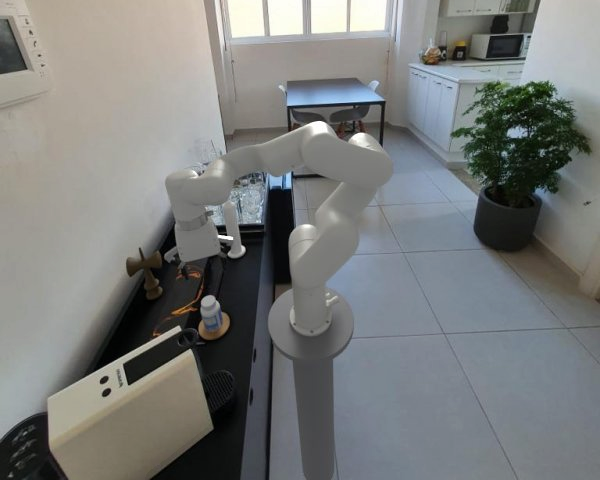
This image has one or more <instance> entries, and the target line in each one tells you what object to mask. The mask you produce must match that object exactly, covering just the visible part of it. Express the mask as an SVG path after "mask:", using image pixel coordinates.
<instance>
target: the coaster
mask: <svg viewBox="0 0 600 480" xmlns="http://www.w3.org/2000/svg"><path fill="white" fill-rule="evenodd" d="M221 313H222V317H223V325H222V327H221V328H220V329H219V330H217V331H214V332H209V331H207V330H206V329H205V326H204V322H203V319H202V318H201V321H200V322H199V324H198V334H199V336H200V337H201V338H202V339H204V340H207V341H213V340H217V339H219V338H221V337H222V336H224V335H225V334H226V333H227V331H228V330H229V329H230V325H231V321H230V317H229V315H228V314H227V313H226V312H224V311H221Z"/></svg>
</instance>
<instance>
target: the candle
mask: <svg viewBox="0 0 600 480" xmlns="http://www.w3.org/2000/svg"><path fill="white" fill-rule="evenodd" d="M221 207H222V213H223V219H224V224H225V230H226V235H227V236H228V237H233V239H234V243H233V245H232V247H231V250H230V251H229V253H228V254H227V256H228V257H229V258H231V259H239V258H241V257H242V256H244V255H245V253H246V247H245V246H244V245H242V240H241V233H240V228H239V222H238V215H237V209H236V204H235V202H233V201H230V198H229V199H228V200H227V201H226V202H225V203H224V204H222V205H221Z"/></svg>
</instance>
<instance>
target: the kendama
mask: <svg viewBox="0 0 600 480" xmlns="http://www.w3.org/2000/svg"><path fill="white" fill-rule="evenodd" d="M138 253H139V257H140V258H135V257H132V256H128V257H127V258H126V260H125V269H126V274H127V276H128V277H129V278H132V277H134V276H135V275H136V274H137V273H138V272H139V271H141V270H143V271H144V279H145V283H144V285H143V289H144V290H146V294H145V298H146V300H150V301H152V300H156V299H158V298H159V297H161V296H162V294H163V288H162V287H161V286H159V284H160V280H159V279H158V278H155V277H154V275H153V273H152V271H151V269H152V268H153V269H157V270H161V268H162V266H163V260H162V255H161V252H160V251H159V250H156V251H155V252H154V253H152V254H150V256H148V257H145V255H144V252H143V250H142V247H140V246H139V247H138ZM150 268H151V269H150Z"/></svg>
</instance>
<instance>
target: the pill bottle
mask: <svg viewBox="0 0 600 480" xmlns="http://www.w3.org/2000/svg"><path fill="white" fill-rule="evenodd" d="M221 312H222V310H221V305H220V303H219V301H218V300H216V297H215V296H214V295H211V294H209V295H206V296H204V297H203V298H202V299H201V301H200V315H201V320H202V319H203V322H204V326H205V329H206V330H207V331H209V332H214V331H217V330H219V329H220V328H221V327H222V325H223V317H222V313H221Z"/></svg>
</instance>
